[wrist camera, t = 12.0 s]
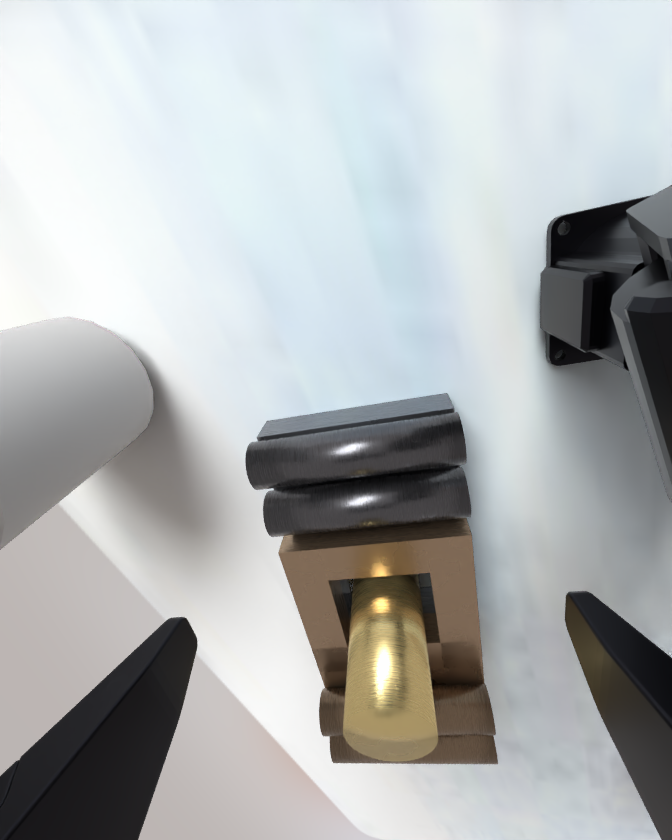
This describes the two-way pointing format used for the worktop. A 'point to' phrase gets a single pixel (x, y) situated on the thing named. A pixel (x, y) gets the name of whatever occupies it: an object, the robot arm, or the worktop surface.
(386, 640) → the brass pin
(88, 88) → the worktop surface
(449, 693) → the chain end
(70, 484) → the can
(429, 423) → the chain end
